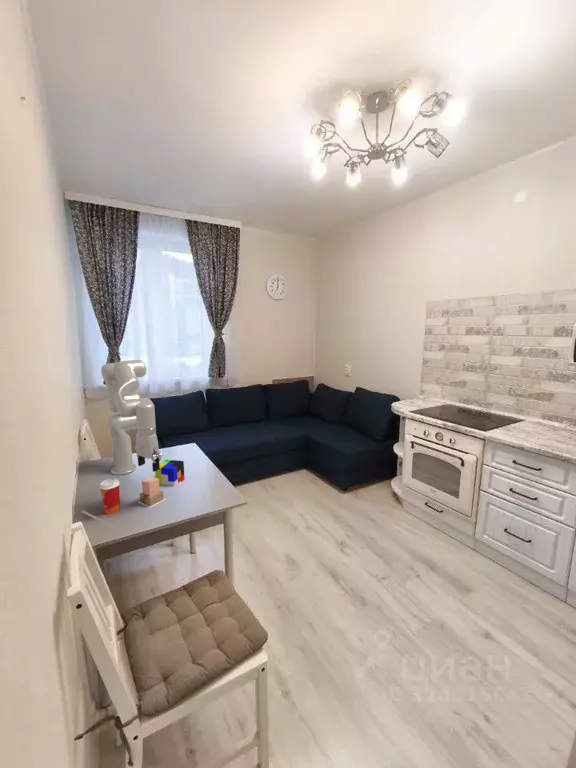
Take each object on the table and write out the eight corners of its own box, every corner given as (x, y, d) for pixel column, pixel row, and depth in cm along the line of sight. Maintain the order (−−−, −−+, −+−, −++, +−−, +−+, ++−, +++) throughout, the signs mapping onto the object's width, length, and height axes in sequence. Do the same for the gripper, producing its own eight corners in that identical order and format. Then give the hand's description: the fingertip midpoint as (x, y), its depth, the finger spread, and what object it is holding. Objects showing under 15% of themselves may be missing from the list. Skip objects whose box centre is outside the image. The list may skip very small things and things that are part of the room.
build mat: (128, 502, 157) (128, 499, 157) (150, 491, 168) (150, 489, 167) (151, 511, 149) (151, 509, 149) (173, 499, 159) (173, 497, 159)
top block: (142, 493, 155) (141, 480, 154) (152, 488, 159) (151, 476, 158) (150, 496, 152) (149, 483, 151) (159, 491, 156) (158, 479, 155)
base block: (140, 502, 155) (139, 493, 154) (153, 495, 161) (152, 487, 160) (150, 506, 152) (149, 498, 151) (163, 499, 157) (163, 491, 157)
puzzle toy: (174, 488, 170) (173, 469, 169) (156, 486, 172) (154, 467, 171) (184, 479, 180) (183, 461, 178) (167, 477, 182) (165, 459, 180)
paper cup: (107, 508, 152) (103, 478, 150) (125, 507, 153) (122, 477, 150) (99, 518, 145) (95, 486, 142) (118, 517, 145) (115, 486, 143)
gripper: (126, 429, 152) (129, 465, 155) (152, 437, 143) (154, 476, 147) (141, 424, 158) (143, 460, 162) (167, 432, 149) (169, 469, 153)
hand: (148, 467), depth 154 cm, fingers open, 9 cm apart
